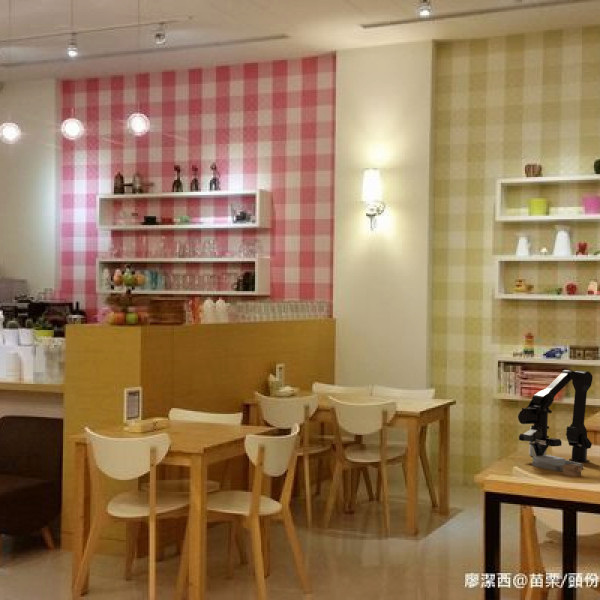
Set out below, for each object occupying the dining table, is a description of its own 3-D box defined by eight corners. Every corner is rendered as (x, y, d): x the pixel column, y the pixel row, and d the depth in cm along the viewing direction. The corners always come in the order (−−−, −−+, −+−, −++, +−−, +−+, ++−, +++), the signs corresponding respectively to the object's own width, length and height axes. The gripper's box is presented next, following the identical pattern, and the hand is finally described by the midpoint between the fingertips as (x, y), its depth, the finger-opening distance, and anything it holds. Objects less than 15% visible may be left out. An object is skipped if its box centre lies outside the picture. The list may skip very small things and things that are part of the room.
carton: (547, 464, 390) (547, 454, 390) (564, 467, 382) (565, 458, 382) (532, 465, 384) (532, 456, 384) (549, 469, 377) (550, 460, 377)
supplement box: (546, 457, 406) (547, 429, 406) (529, 456, 407) (530, 428, 407) (545, 454, 413) (546, 427, 413) (528, 453, 415) (529, 425, 415)
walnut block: (570, 473, 368) (570, 463, 368) (581, 475, 364) (581, 465, 364) (562, 474, 365) (563, 464, 365) (573, 476, 361) (573, 466, 361)
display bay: (557, 463, 391) (557, 458, 391) (582, 468, 380) (583, 463, 380) (532, 466, 381) (532, 461, 381) (558, 471, 370) (558, 466, 370)
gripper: (511, 421, 391) (509, 457, 391) (546, 427, 376) (544, 465, 376) (528, 420, 398) (526, 455, 398) (563, 426, 383) (561, 463, 383)
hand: (539, 459), depth 388 cm, fingers closed
